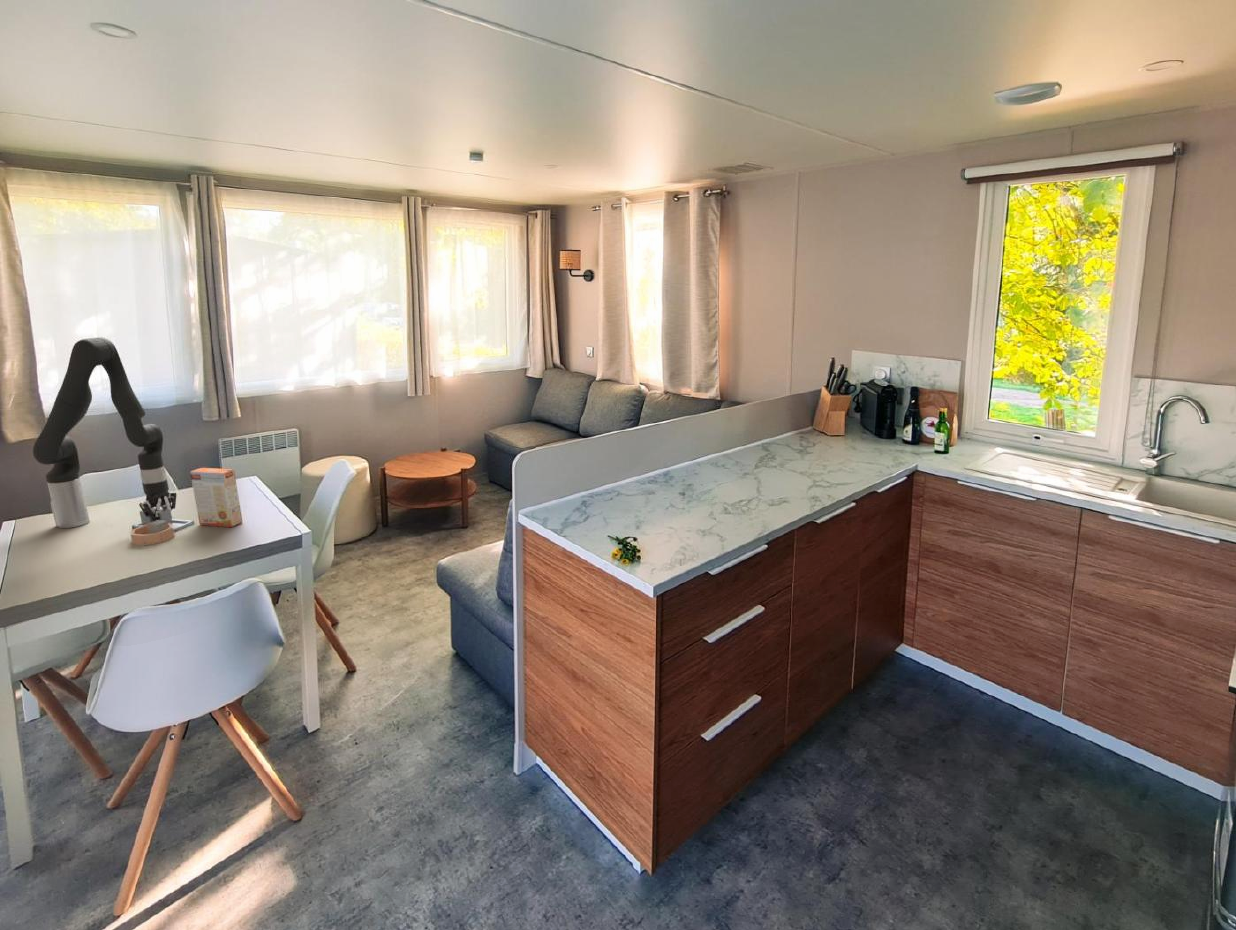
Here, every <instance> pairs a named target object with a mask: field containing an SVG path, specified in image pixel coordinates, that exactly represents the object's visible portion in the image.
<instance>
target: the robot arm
mask: <svg viewBox="0 0 1236 930" xmlns="http://www.w3.org/2000/svg"><path fill="white" fill-rule="evenodd" d="M97 366H102V368H103V369H104V371H105V372H106V374H107V376H108V380H109V386H110V396H111V401H112V404H113V406H114V407H115V409H116V410H117V413H118V414H119V415H120V417H121V419H122V423H123V428H124V430H125V434H126V437H127V439H128V441H129V442H130V443H131V444H132V445H134V446H135V447H136V448H137V447H138V448H143V449H142V450H141V452H139V454H138V455H137V461H138V466H139V472H140V473H139V475H140V478H141V484H142V488H143V489H142V490H143V494H145V497H146V498H145V500H144V502H140V503H139V507H140V509H141V511H143V512H144V514H145V516H146V517H152V520H153V522H154V521H156V520H160V518H159V517H158V516H159V510H160V509H167V510H170V512H171V513H172V510H174V509H176V506H177V505H176V504H177V503H176V502H177V493H176V492H169V489H170V488H169V486H170V485H169V482H168V476H167V472H166V469H165V466H164V462H163V456H162V453H163V444H164V437H163V436H164V435H163V432H162V430H161V427H159V426H158V425H157V424H155V423H146V424H144V425H143V422H142V421H143V420H142V419H143V418H144V417H145V416H146V412H145V409H144V408H143V406H142V404H141V402H140V401H139V399H138V397H137V396H136V394H135V392H134V391H133V388H132V386H131V384H130V381H129V378H128V376H127V373H126V370H125V367H124V365H123V363H122V359H121V357H120V355H119V351H118V350H117V347H116V345H115V344H114V343H113V342H112V341H111V340H110V339H108V338H106V337H91V338H82V339H80V340H78V341H76V342H75V343H74V345H73V347H72V349H71V352H70V357H69V361H68V366H67V369H66V372H65V375H64V377H63V380H62V383H61V386H60V388H59V391H58V393H57V394H56V397H55V400H54V402H53V405H52V408H51V411H50V413H49V415H48V417H47V420H46V422H45V425H44V426H43V428H42V430H41V432H40V433H39V435H38V437H37V438H36V440H35V442H34V444H33V447H32V455H33V458H34V459H35V461H37V462H38V463H39V464H41V465H45V466H46V465H47V466H48V465H53V467H52V468H51V469H50V470H48V472H46V474H45V479H46V480H45V481H46V483H47V486H48V487H47V488H48V491H49V496H50V502H49V503H50V508H51V511H52V512H51V513H52V515H53V519H54V523H55V526H57V528H60V529H70V528H71V529H72V528H76V527H80V526H84V525H87V524H88V523H89V522H90V521H91V520H90V517H89V512H88V508H87V503H86V499H85V494H84V491H83V486H82V482H81V478H80V477H81V476H80V472H81V471H80V470H81V463H80V459H79V453H78V448H77V445H76V443H75V442H74V440H73V439H72V438H71V437H70V436H68V433H70V432H71V430H73V429H74V428H75V426H77V425H78V424H79V423H80V422H81V421H82V419H84V417H85V416H86V414H87V413H88V411H89V408H90V406H91V403H92V400H93V399H92V398H93V393H92V389H91V386H90V383H89V382H90V378H91V376H92V373H93V372H94V370H95V368H96V367H97ZM154 511H155V514H154ZM171 517H172V515H171ZM172 518H173V517H172Z"/></svg>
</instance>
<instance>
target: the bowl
mask: <svg viewBox="0 0 1236 930" xmlns="http://www.w3.org/2000/svg"><path fill="white" fill-rule="evenodd" d="M173 538H175V532H174V528H173V524H172V523H168V529H165V530H163V531H161V532H157V533H151V534H149V529H148V525H143V526H141V527H138V528H136V529H134V528H132V529H131V531H130V539H131V543H132V545H136V546H148V545H153V544H160V543H164V542H166V541H168V540H170V539H173Z"/></svg>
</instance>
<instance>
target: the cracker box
mask: <svg viewBox="0 0 1236 930" xmlns="http://www.w3.org/2000/svg"><path fill="white" fill-rule="evenodd" d="M189 472H190V478H191V485H192V489H193V490H192V491H193V494H194V500H195V505H196V506H195V507H196V511H197V517H198V522H199V523H198V524H199V526H200V525H201V526H212V527H225V528H233V527H235V526H237V525H240V524H241V523H243V515H242V510H241V505H240V504H241V503H240V498H239V492H238V485H237V479H236V474H235V470H234V469H231V468H227V469H226V468H216V467H215V468H211V467H200V468H197V469H193V470H191V471H189Z"/></svg>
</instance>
